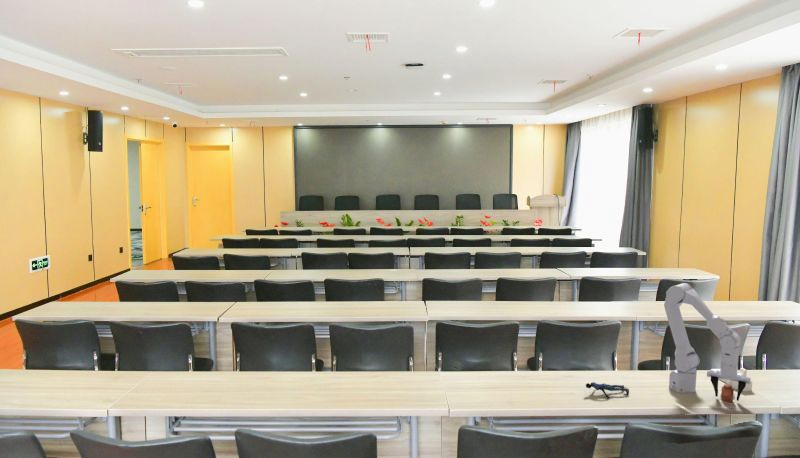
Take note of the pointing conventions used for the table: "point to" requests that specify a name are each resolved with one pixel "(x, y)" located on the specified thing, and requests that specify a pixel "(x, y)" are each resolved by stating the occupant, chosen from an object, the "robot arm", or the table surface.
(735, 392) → the board
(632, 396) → the table surface
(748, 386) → the die
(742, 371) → the bracket
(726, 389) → the pawn
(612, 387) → the person figurine
